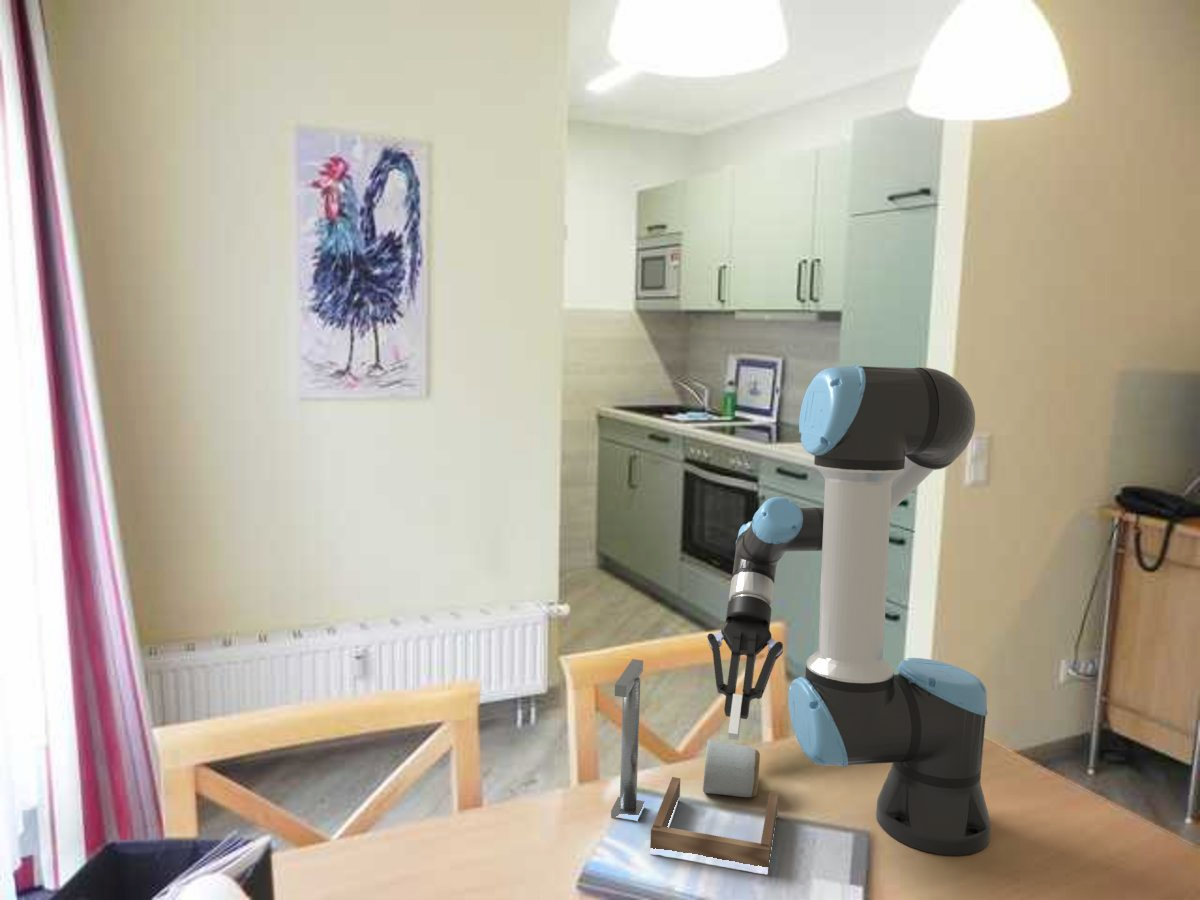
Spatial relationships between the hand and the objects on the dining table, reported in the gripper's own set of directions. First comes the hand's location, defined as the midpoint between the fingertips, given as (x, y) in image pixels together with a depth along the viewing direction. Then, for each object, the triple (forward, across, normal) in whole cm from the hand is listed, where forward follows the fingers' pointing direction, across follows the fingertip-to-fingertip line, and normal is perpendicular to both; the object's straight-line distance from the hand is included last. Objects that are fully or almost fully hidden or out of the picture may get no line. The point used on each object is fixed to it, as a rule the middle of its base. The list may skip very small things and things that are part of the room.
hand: (733, 736), depth 140 cm
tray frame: (+18, 0, +10) cm, 20 cm away
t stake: (+18, +13, +10) cm, 24 cm away
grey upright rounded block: (+8, 0, 0) cm, 8 cm away
